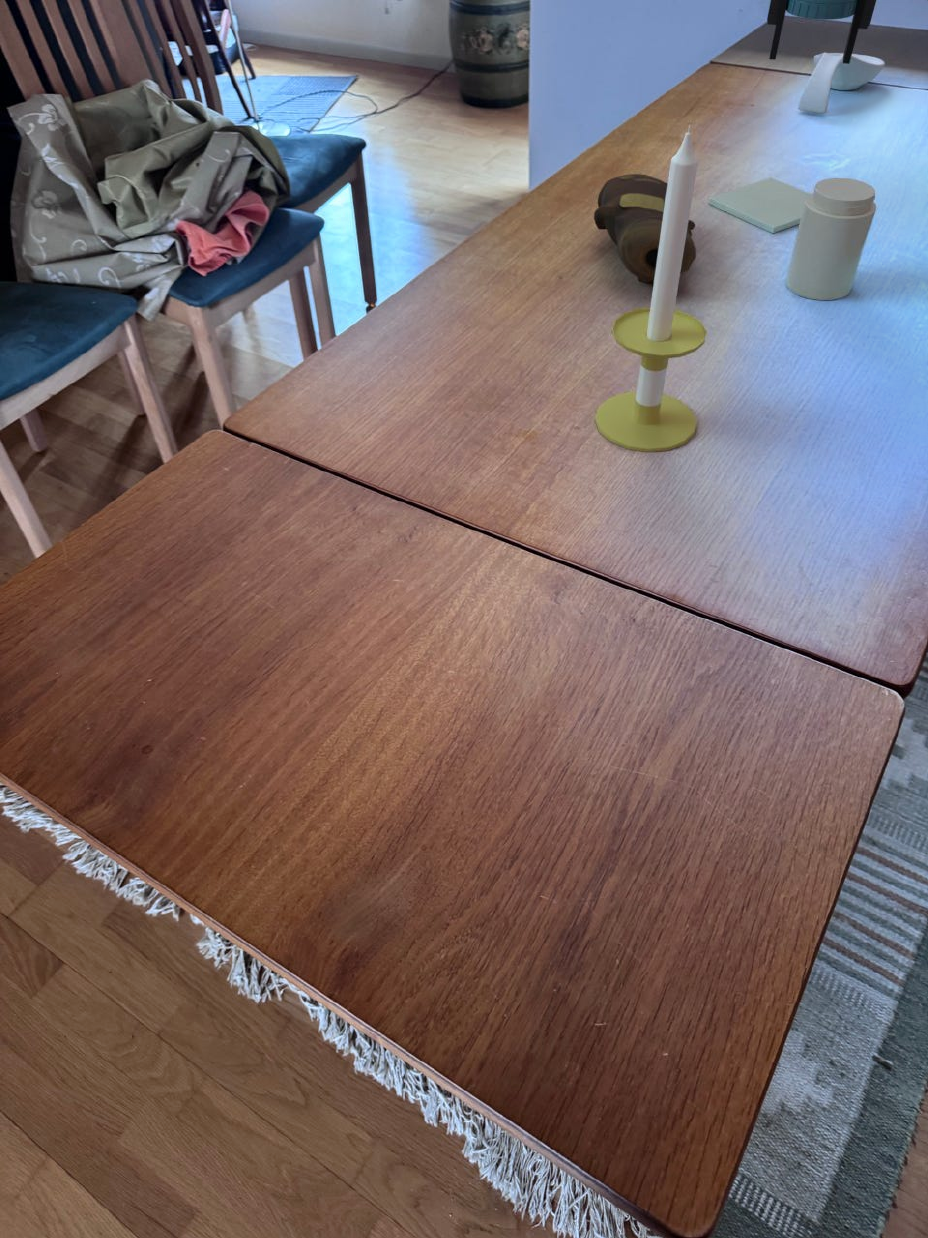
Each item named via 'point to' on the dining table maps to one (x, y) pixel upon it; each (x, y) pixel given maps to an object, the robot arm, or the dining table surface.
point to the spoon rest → (836, 78)
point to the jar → (831, 238)
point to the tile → (764, 204)
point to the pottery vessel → (638, 222)
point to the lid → (822, 8)
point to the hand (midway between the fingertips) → (809, 57)
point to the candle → (658, 333)
